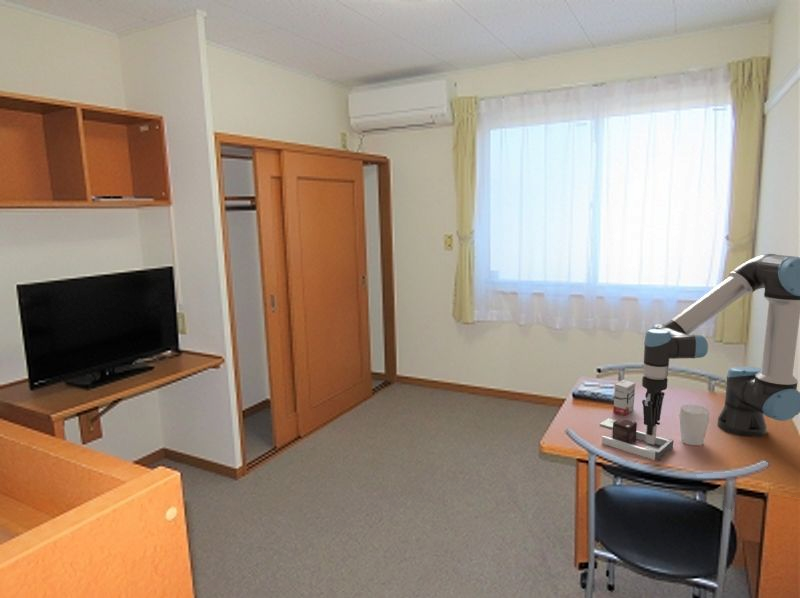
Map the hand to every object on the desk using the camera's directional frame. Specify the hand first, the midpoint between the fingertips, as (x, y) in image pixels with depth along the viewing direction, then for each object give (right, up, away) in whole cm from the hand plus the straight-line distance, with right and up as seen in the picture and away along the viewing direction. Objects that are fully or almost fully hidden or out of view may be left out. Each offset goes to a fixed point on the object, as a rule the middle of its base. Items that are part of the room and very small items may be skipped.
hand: (650, 442), depth 180 cm
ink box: (+5, +3, +34) cm, 34 cm away
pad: (-4, +1, +21) cm, 21 cm away
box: (-6, -2, +7) cm, 9 cm away
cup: (+17, -1, +6) cm, 18 cm away
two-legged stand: (-3, -2, +4) cm, 6 cm away
